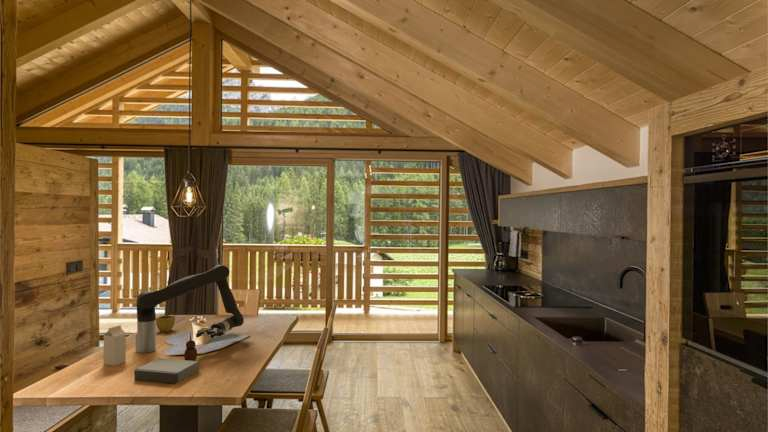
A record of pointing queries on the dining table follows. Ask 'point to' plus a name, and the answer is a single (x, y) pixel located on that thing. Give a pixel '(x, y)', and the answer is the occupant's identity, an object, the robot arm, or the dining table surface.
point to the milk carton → (115, 346)
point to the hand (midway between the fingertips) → (203, 335)
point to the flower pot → (165, 323)
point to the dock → (166, 370)
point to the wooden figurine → (190, 351)
